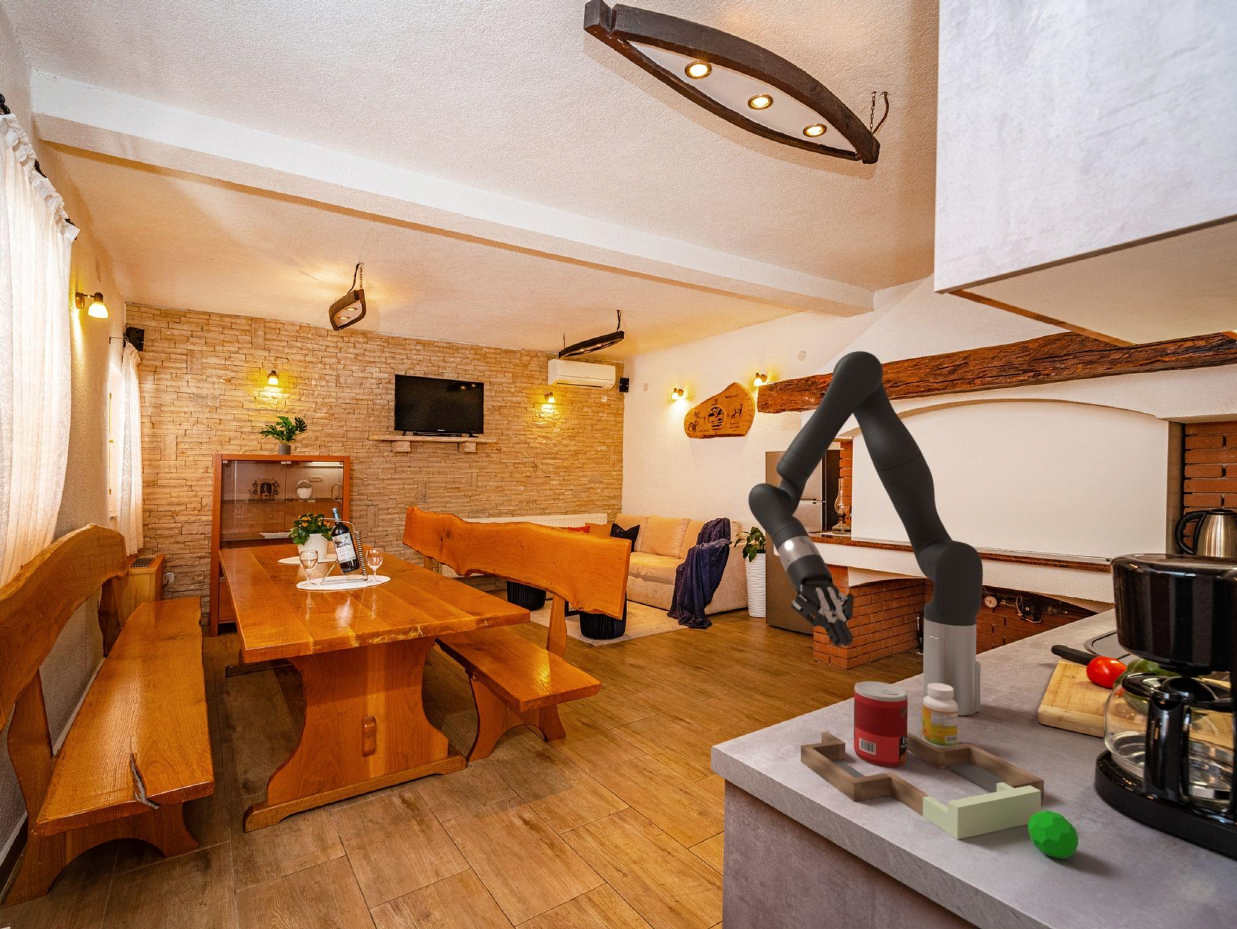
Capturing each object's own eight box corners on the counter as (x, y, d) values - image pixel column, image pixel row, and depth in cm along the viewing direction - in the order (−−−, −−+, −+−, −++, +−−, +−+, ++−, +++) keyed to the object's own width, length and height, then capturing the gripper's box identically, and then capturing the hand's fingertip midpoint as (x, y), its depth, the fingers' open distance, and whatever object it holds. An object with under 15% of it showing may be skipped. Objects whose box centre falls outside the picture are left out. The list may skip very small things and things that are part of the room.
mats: (813, 764, 96) (813, 762, 96) (934, 745, 104) (934, 743, 104) (891, 821, 81) (891, 819, 81) (1027, 794, 88) (1027, 792, 88)
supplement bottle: (924, 734, 109) (924, 679, 109) (958, 741, 106) (959, 685, 106) (920, 745, 104) (921, 687, 104) (956, 753, 101) (957, 694, 101)
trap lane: (788, 752, 100) (788, 737, 100) (919, 733, 109) (919, 719, 109) (891, 829, 79) (891, 809, 79) (1043, 797, 87) (1043, 780, 88)
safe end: (922, 816, 82) (923, 786, 82) (1002, 800, 87) (1003, 771, 87) (957, 839, 77) (957, 807, 77) (1040, 821, 81) (1040, 790, 81)
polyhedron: (1068, 872, 71) (1069, 830, 71) (1021, 850, 75) (1021, 811, 75) (1084, 857, 74) (1084, 817, 74) (1037, 837, 78) (1038, 799, 78)
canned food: (912, 770, 95) (913, 699, 95) (858, 764, 97) (859, 694, 97) (900, 749, 102) (900, 683, 103) (849, 744, 104) (850, 679, 104)
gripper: (781, 553, 115) (822, 635, 103) (841, 552, 120) (887, 630, 108) (766, 577, 120) (802, 657, 108) (824, 575, 125) (865, 652, 113)
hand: (844, 643), depth 108 cm, fingers closed
